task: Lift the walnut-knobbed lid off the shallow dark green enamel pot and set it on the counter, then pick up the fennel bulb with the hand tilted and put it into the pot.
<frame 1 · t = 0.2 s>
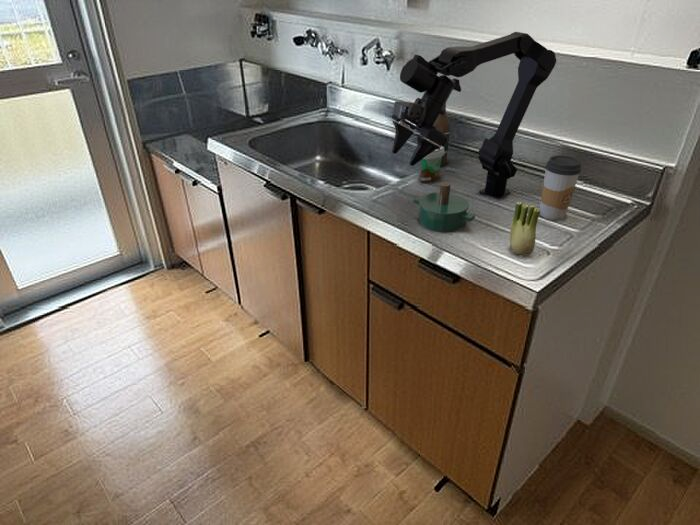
hand: (402, 158, 124), 15 cm above the countertop, tool tilted 30°, fingers open, 9 cm apart
green food package: (431, 178, 152), on the countertop
pot: (441, 221, 127), on the countertop
fennel bulb: (519, 253, 114), on the countertop
coffee cup: (551, 215, 130), on the countertop
beer bottle: (434, 163, 162), on the countertop
lid: (443, 204, 124), point 5 cm above the countertop, touching pot
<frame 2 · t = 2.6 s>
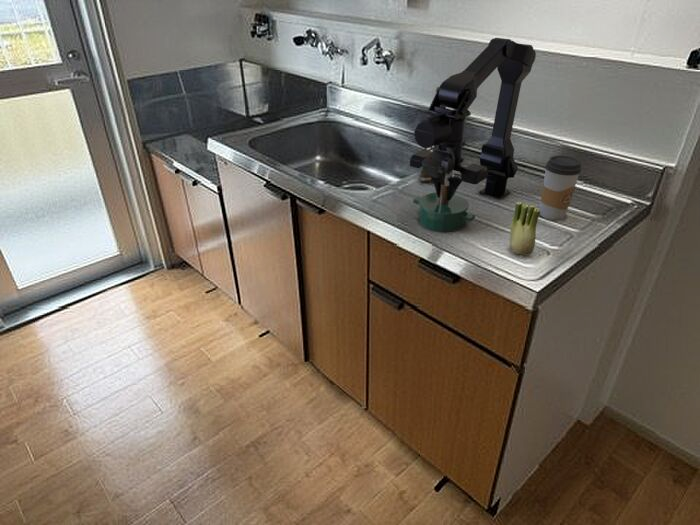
hand: (444, 198, 123), 6 cm above the countertop, tool pointing down, fingers closed on lid, 2 cm apart
lid: (443, 204, 124), point 5 cm above the countertop, touching gripper, pot
everything else where it was.
when the fingers open (2 cm above the countertop, at t = 7.2 s): lid stays where it is, point 1 cm above the countertop.
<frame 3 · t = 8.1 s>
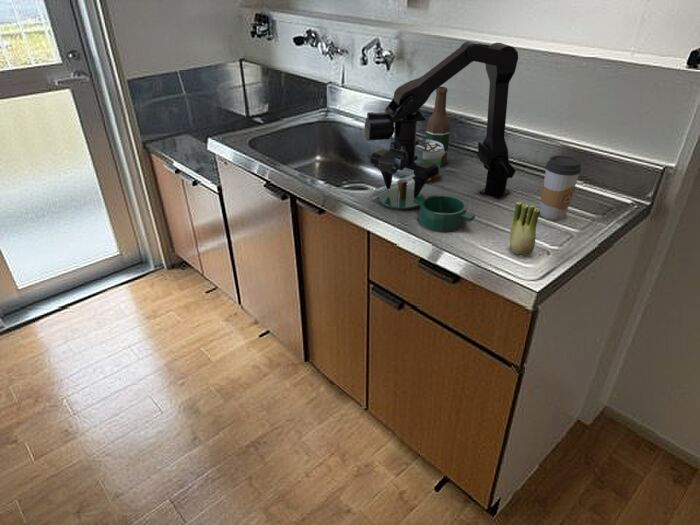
hand: (401, 193, 136), 2 cm above the countertop, tool pointing down, fingers open, 9 cm apart
lid: (401, 199, 137), point 1 cm above the countertop
everything else where it was.
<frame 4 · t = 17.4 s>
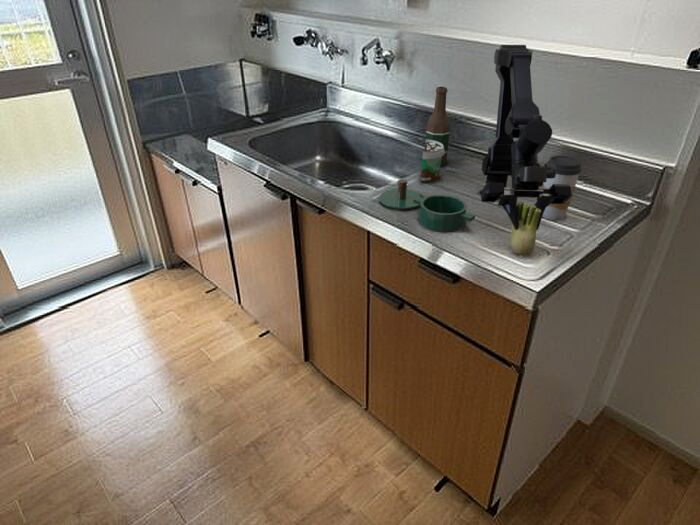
hand: (526, 229, 109), 7 cm above the countertop, tool tilted 45°, fingers closed on fennel bulb, 4 cm apart
fennel bulb: (519, 252, 114), on the countertop, touching gripper
everything else where it was.
when the fingers open (7 cm above the countertop, at t = 25.1 s): fennel bulb stays where it is, resting on pot.
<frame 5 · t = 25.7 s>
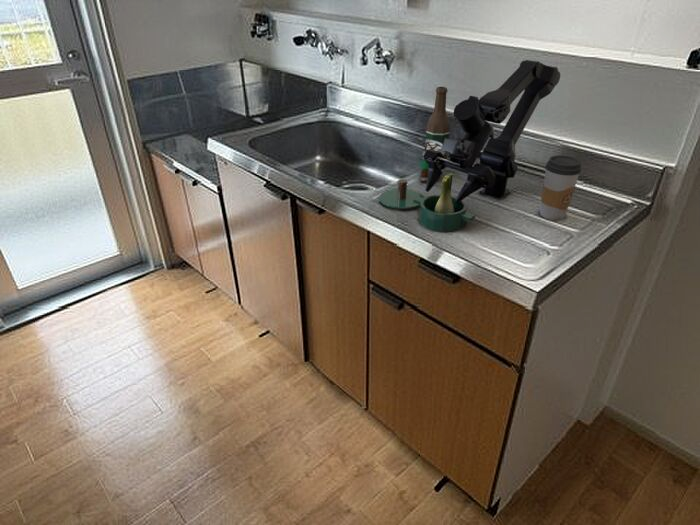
hand: (441, 196, 122), 7 cm above the countertop, tool tilted 45°, fingers open, 9 cm apart
fennel bulb: (443, 220, 127), resting on pot
everything else where it was.
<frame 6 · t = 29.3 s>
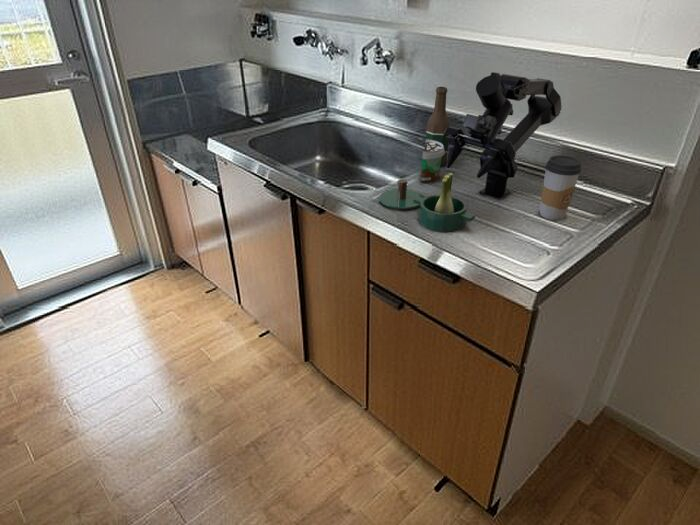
hand: (462, 172, 124), 12 cm above the countertop, tool tilted 45°, fingers open, 9 cm apart
nothing on the countertop moved.
at the end: lid inside the target area (0.1 cm from its centre), point 0.6 cm above the countertop; fennel bulb inside the target area in the pot (0.5 cm from its centre), point 0.1 cm above the pot's base; the gripper is holding nothing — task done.
